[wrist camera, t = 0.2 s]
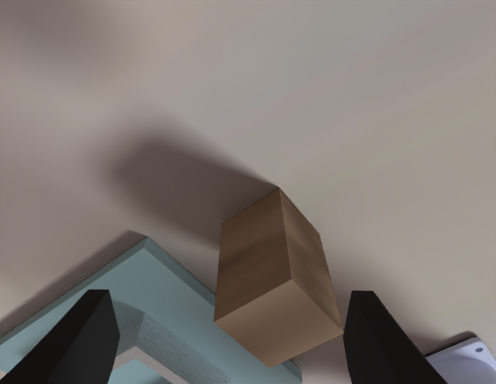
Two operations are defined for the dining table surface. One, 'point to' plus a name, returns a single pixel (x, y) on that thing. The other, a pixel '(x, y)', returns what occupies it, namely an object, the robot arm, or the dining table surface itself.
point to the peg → (274, 282)
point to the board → (159, 308)
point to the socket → (165, 353)
